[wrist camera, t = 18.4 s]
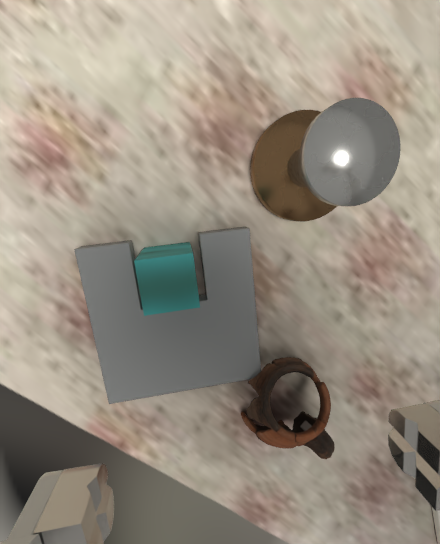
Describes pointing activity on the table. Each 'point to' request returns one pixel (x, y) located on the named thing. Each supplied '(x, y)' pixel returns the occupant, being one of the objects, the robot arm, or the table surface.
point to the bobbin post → (325, 159)
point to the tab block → (167, 278)
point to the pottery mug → (304, 425)
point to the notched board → (173, 321)
